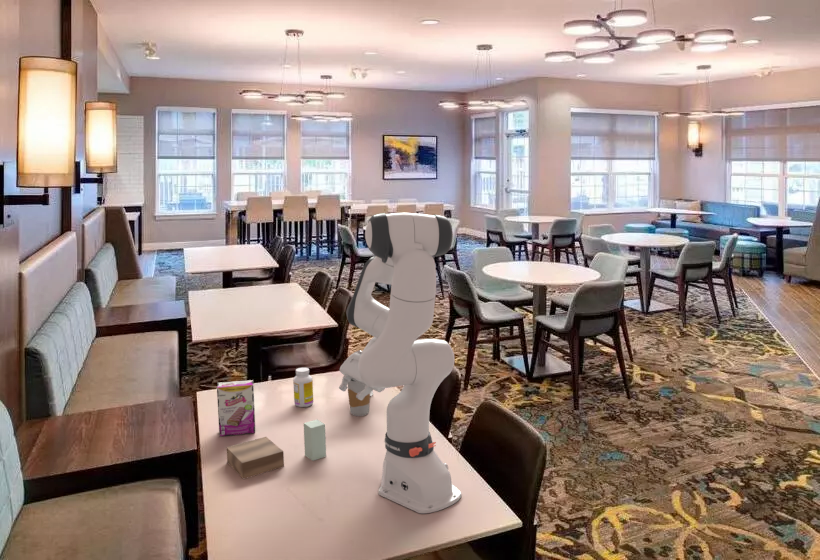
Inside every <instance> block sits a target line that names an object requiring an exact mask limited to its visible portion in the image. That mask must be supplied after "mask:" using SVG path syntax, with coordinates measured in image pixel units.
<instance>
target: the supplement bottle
mask: <svg viewBox="0 0 820 560" xmlns="http://www.w3.org/2000/svg"><path fill="white" fill-rule="evenodd" d="M292 381H293V399H294V400H293V402H294V405H295V406H296V407H299V408H307V407H310V406H312V405H313V404H314V387H313V385H314V383H313V377H312V376H311V375H310V369H309V367H298V368H296V369H295V376H294V377H293V380H292Z"/></svg>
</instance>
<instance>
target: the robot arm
mask: <svg viewBox="0 0 820 560" xmlns="http://www.w3.org/2000/svg"><path fill="white" fill-rule="evenodd" d="M365 227H366V228H365V229H364V231H365V233H364V238H365V241H366V244H367V248H368V250H369V251H370V252H371V253H372V255H373V256H371V257H369V259H368V260H366V262H365V263H364V265H363V267H362V269H361V272H360V274H359V278H358V280H357V283H356V287H355V289H354V293H353V295H352V297H351V299H350V302H349V303H348V305H347V308H346V311H345V312H346V318H347V321H348V323H349V324H350V325H352V326H354V327H355V328H358V329H360V330H362V331H364V332H366V333H367V334H368V335H370V336H372V337H371V339H370V340H369V341H368V343H367V344H366V346H365V347H364V348H363V350H361V349H359V350H357V351H354V352H353V353H352V354H350V355H349V356H348V357H347V358H346V359H345V360H344V361H343V363H342V364H341V365H340V367H339V373H341V374H342V375H343V376H342V378H341V383H340V385H339V387H338V389H339V390H340V391H342V392H346V390H348V381H349V382H350V380H351V379H352V380H354V381H357V382H359V383H361V384H363V385H365V387H364V388H365V389H364V390H362V391H361V392H358V394H357V395H356V398H358V399H359V400H363V399H364V397H365V396H366V395H368V394H369V393H371V392H372V390H373V391H375V392H377V393H381V392H383V391H384V390H385V389H389V388H390V389H391V388H395V387H401V386H403V388H402V389H401V390H400V392H399V393H398V394H396V395H394V397H392V398H391V400H390V401H389V402H388V404H387V406H386V431H385V436H384V446H385V447H384V448H385V450H386V452H385V455H384V459H383V463H382V472H381V473H382V474H381V484H380V486H379V488H378V491H377V492H378V493H377V494H378V495H379V496H381V497H383V498H385V499H388V500H390V501H392V502H394V503H397V504H399V505H401V506H403V507H404V508H406V509H407V508H408V509H409V510H410V511H414V512H416V513H418V514H429V513H435V512H438V511H441V510H443V509H446V508H448V507H451V506H452V505H454V504H456V503H457V502H458V501H460V499H461V498H462V492H461V490H460V489H458V488H457V487H456V486H455V485H453V482H452V476H451V473H450V470H449V466H448V464H447V462H443V461H442V460H441V458H440V457H439V456H438V454H437V453H436V451H435V448H434V447H436V443H437V442H436V441H434V442H433V437H432V434H431V432H430V413H431V412H430V410H431V406H432V405H431V404H432V401H433V398H434V395H435V393H436V391H437V389H438V387H439V386H440V385H441V383H442V382H443V381H444V380H445V379H446V378H447V377H448V376H449V375H450V374H451V372H452V371H453V369H454V367H455V366H454V365H455V353H454V350H453V349H452V347H451V345H450V344H449V343H448V341H446V340H444V339H438V338H437V339H436V338H422V339H421V338H420V339H418V338H419V337H421V336H422V335H424V333H426V332H427V331H428V330H429V329H430V328H431V327H432V325H433V322H434V316H435V315H434V314H435V304H436V294H437V269H436V263H435V259H434V258H435V257H440V256H444V255H446V254H447V253H448V252H449V251H450V250H451V247H452V244H453V240H454V238H453V237H454V233H453V227H452V223H451V221H450V220H449V219H448V217H446V216H444V215H439V214H433V215H432V214H426V213H424V214H423V213H411V212H392V213H391V212H390V213H385V212H383V213H376V214H373V215H371V217H370V218H369V219H368V221H367V224H366V226H365ZM376 283H378V284H379V283H380V284H383V285H385V284H386V285H391V286H390V297H389V298H390V299H389V305H388V306H389V307H388V306H387V305H384V304H382V303H381V302H379V301H377V300H376V299H375V298H374V297H373V295H372V293H373V291H374V288H375V285H376Z"/></svg>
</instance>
